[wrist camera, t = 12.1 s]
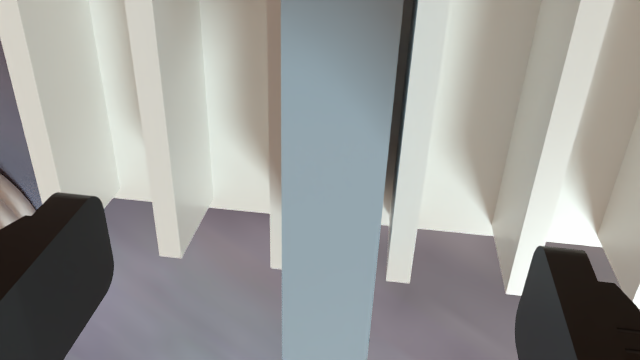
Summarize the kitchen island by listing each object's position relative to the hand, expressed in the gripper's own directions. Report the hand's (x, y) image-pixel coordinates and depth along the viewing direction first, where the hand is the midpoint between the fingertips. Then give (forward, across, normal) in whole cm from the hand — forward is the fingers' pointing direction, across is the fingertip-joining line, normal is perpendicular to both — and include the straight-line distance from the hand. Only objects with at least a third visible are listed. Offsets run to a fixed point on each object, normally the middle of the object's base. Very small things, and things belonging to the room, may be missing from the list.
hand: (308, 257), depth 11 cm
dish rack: (+12, 0, 0) cm, 12 cm away
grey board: (+11, 0, 0) cm, 11 cm away
